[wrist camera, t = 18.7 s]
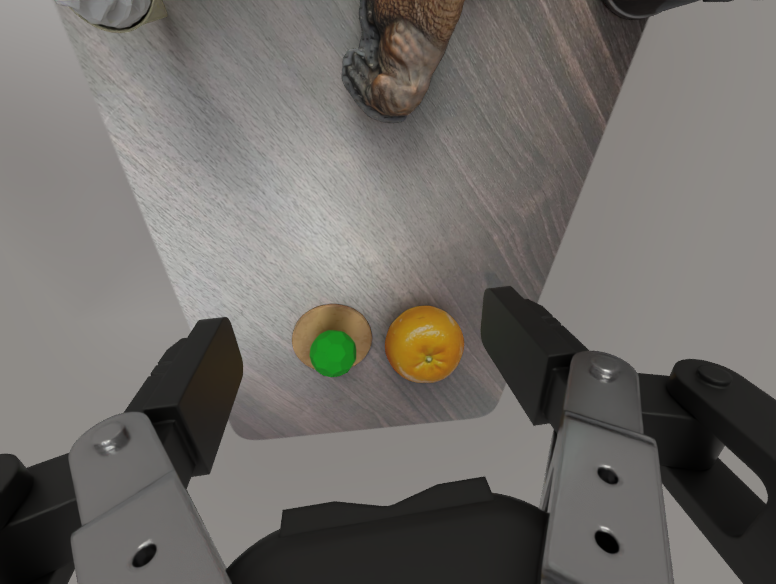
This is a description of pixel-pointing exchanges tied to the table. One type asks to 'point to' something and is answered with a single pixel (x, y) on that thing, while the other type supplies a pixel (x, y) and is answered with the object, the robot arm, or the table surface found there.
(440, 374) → the fruit
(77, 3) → the ice cream cone
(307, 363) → the coaster
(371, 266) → the table surface
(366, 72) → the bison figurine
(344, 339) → the polyhedron
